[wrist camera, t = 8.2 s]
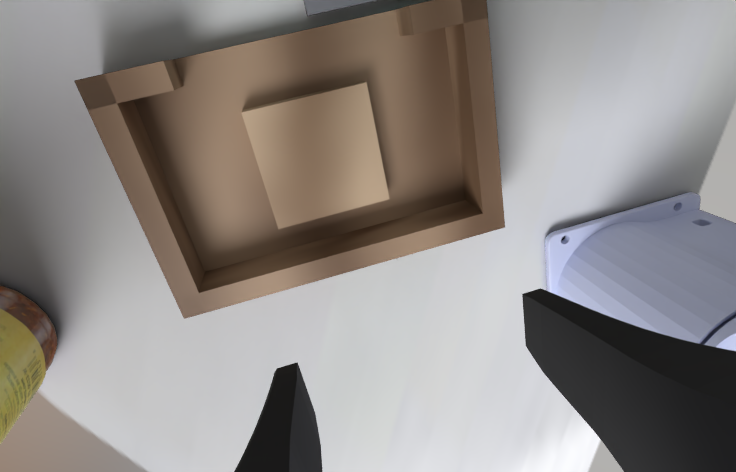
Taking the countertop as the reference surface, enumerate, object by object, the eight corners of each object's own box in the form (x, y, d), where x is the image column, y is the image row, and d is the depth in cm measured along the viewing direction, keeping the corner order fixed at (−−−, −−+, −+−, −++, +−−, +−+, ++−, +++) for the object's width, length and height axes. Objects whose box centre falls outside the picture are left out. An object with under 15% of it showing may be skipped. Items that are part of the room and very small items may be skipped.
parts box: (457, -4, 19) (485, -12, 17) (479, 207, 23) (504, 227, 21) (102, 76, 18) (74, 80, 15) (193, 287, 22) (184, 318, 19)
